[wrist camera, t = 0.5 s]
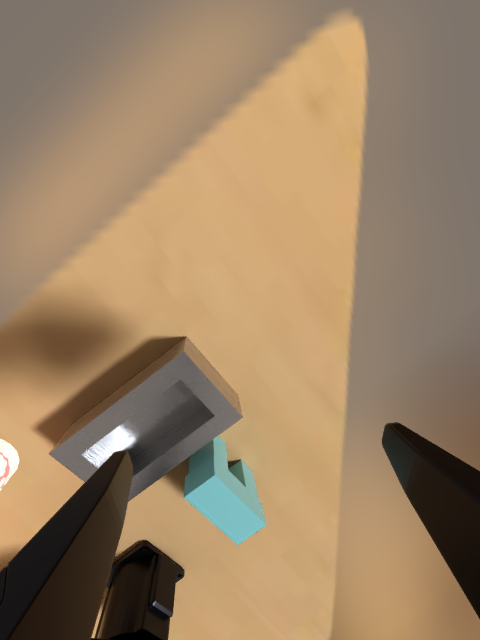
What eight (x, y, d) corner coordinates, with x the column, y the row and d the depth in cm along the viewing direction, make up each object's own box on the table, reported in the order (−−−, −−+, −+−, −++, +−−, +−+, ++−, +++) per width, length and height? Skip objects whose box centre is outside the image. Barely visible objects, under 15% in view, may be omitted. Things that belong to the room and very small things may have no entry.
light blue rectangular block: (254, 471, 27) (266, 525, 22) (231, 488, 27) (237, 545, 22) (212, 428, 25) (214, 475, 20) (187, 446, 25) (183, 497, 20)
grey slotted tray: (130, 474, 25) (118, 508, 22) (71, 424, 23) (48, 453, 20) (237, 394, 25) (242, 417, 21) (186, 336, 23) (183, 351, 19)
